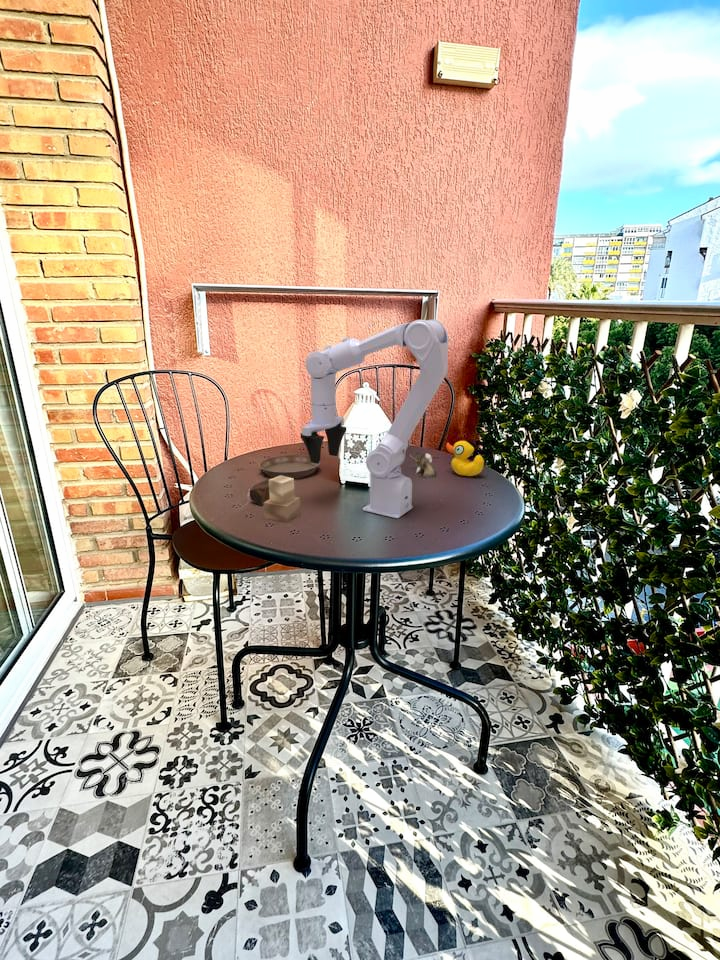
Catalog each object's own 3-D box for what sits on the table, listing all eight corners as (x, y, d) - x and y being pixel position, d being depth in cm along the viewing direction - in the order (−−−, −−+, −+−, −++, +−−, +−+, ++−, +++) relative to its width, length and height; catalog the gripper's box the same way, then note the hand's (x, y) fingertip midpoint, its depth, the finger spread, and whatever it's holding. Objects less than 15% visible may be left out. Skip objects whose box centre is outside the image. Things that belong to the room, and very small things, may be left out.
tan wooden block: (300, 513, 114) (299, 497, 113) (287, 523, 109) (286, 506, 108) (278, 509, 117) (277, 494, 115) (264, 519, 111) (263, 502, 110)
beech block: (294, 499, 112) (293, 478, 111) (282, 504, 109) (281, 483, 107) (282, 495, 114) (281, 475, 113) (269, 500, 111) (268, 479, 110)
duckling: (441, 474, 143) (443, 440, 139) (448, 469, 147) (450, 437, 144) (478, 480, 137) (481, 446, 134) (485, 475, 141) (488, 442, 138)
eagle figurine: (402, 466, 146) (412, 469, 137) (414, 445, 146) (425, 447, 137) (423, 478, 148) (434, 482, 139) (434, 458, 148) (446, 461, 139)
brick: (279, 491, 128) (278, 474, 127) (291, 494, 126) (290, 477, 125) (249, 503, 120) (248, 485, 119) (261, 507, 118) (260, 488, 116)
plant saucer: (248, 478, 139) (248, 468, 138) (276, 461, 155) (275, 452, 154) (306, 484, 134) (306, 474, 133) (328, 466, 150) (328, 457, 149)
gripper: (327, 397, 123) (328, 450, 128) (290, 406, 112) (292, 463, 116) (351, 400, 120) (351, 454, 124) (315, 409, 108) (317, 468, 112)
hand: (324, 458), depth 120 cm, fingers open, 7 cm apart
